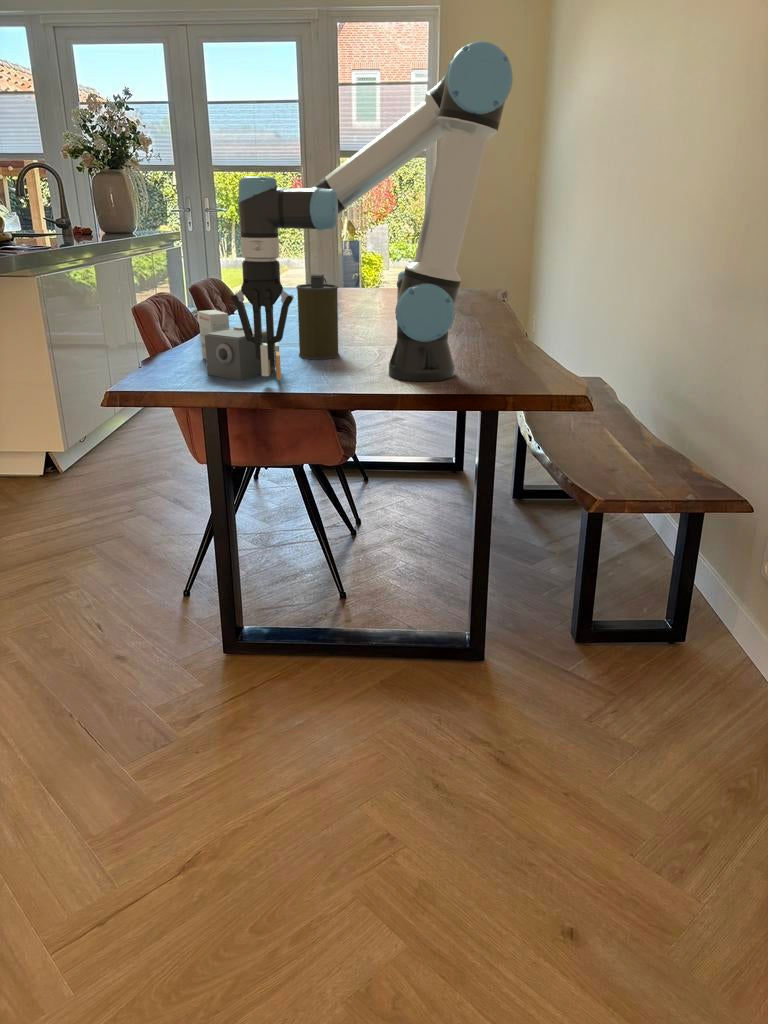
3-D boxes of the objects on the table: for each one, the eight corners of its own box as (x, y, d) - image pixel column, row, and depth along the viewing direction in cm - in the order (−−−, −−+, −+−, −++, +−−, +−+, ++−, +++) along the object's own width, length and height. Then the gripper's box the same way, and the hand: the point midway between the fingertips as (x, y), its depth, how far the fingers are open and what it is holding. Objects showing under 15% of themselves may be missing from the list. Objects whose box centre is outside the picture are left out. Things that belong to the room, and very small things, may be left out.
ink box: (233, 362, 188) (230, 313, 184) (214, 364, 186) (210, 314, 181) (219, 356, 195) (216, 309, 190) (201, 358, 192) (196, 310, 188)
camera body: (275, 370, 179) (273, 328, 176) (238, 380, 169) (235, 336, 166) (242, 365, 184) (240, 324, 180) (204, 375, 174) (201, 331, 170)
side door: (279, 366, 179) (278, 335, 177) (281, 384, 162) (280, 350, 160) (275, 366, 179) (273, 335, 176) (277, 384, 162) (275, 350, 160)
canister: (338, 360, 192) (337, 277, 184) (296, 359, 192) (293, 276, 184) (340, 351, 202) (339, 272, 194) (300, 351, 202) (298, 272, 194)
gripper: (225, 260, 151) (232, 378, 160) (290, 261, 151) (294, 379, 160) (232, 257, 158) (239, 370, 167) (294, 258, 158) (298, 371, 167)
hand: (266, 374), depth 164 cm, fingers closed
